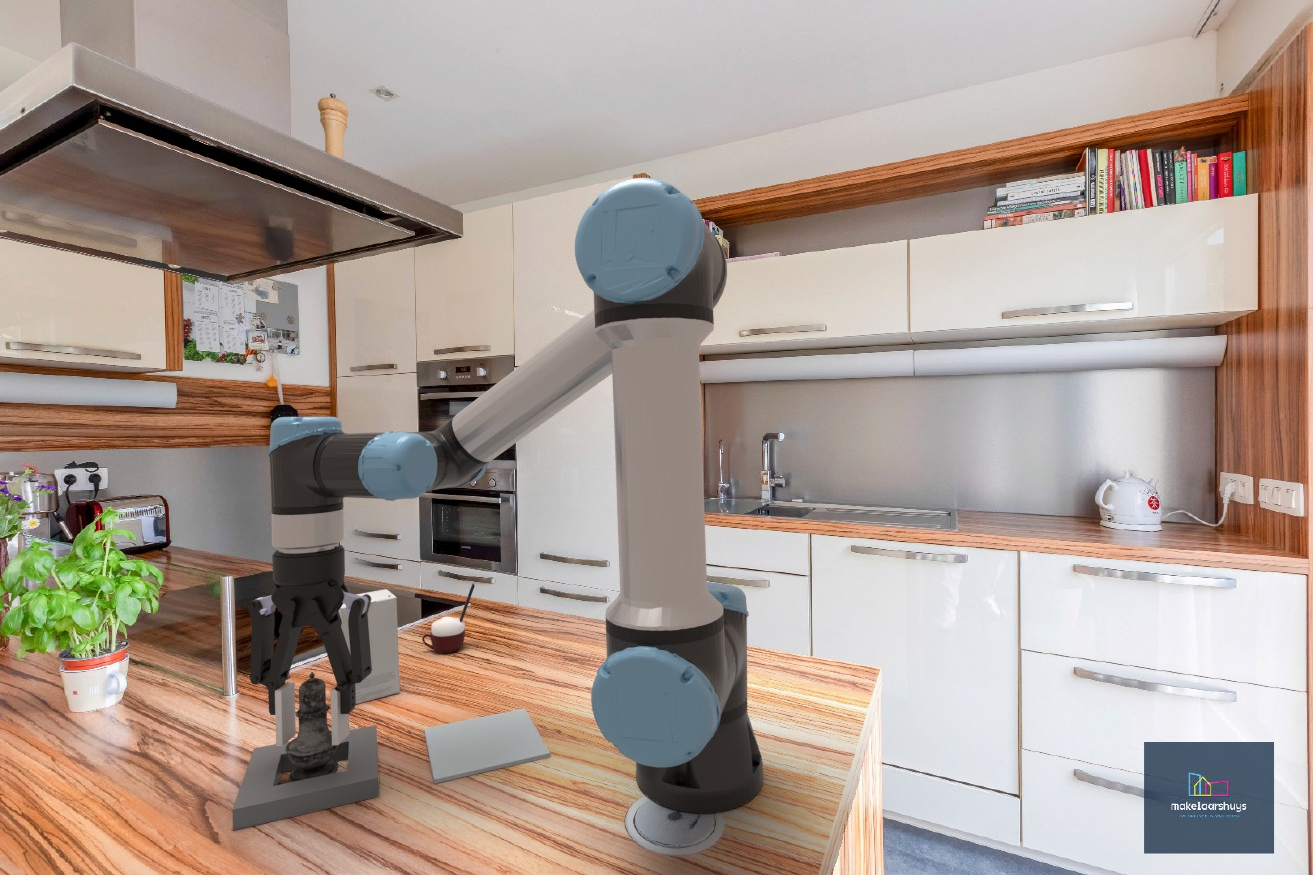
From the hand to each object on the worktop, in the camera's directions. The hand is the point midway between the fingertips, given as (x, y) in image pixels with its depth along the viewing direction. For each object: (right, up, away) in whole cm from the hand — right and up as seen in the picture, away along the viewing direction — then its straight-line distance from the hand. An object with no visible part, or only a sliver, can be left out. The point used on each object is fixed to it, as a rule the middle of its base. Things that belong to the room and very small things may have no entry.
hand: (313, 739), depth 75 cm
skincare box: (-5, -5, +24) cm, 25 cm away
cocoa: (+2, -4, +44) cm, 44 cm away
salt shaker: (0, -4, 0) cm, 4 cm away
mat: (+18, -5, +9) cm, 21 cm away
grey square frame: (0, -5, 0) cm, 5 cm away
